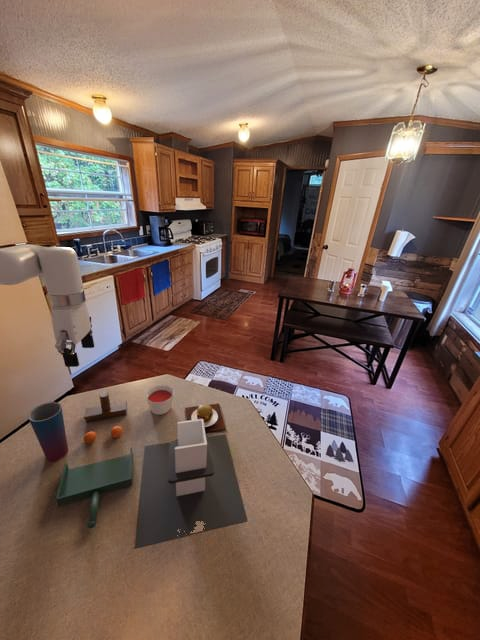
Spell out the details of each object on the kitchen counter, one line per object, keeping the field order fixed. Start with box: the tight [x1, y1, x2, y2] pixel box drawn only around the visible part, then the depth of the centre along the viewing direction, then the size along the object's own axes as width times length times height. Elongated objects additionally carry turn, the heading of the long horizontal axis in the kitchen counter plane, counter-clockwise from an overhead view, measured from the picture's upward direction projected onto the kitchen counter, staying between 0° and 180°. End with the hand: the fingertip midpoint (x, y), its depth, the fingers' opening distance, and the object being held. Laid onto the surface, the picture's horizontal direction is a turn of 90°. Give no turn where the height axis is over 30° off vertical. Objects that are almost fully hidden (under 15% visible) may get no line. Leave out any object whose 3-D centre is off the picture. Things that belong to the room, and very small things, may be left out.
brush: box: [83, 391, 128, 423], centre depth 82 cm, size 4×12×8 cm, turn 111°
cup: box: [27, 401, 69, 462], centre depth 67 cm, size 7×7×15 cm
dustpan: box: [55, 447, 134, 530], centre depth 61 cm, size 17×16×3 cm
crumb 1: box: [83, 431, 97, 445], centre depth 73 cm, size 3×3×3 cm
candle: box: [145, 384, 175, 416], centre depth 87 cm, size 9×9×6 cm
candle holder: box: [134, 419, 248, 549], centre depth 63 cm, size 25×24×16 cm
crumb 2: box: [110, 425, 123, 439], centre depth 76 cm, size 3×3×3 cm
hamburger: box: [184, 403, 227, 434], centre depth 84 cm, size 12×12×6 cm
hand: (81, 356), depth 71 cm, fingers open, 9 cm apart
